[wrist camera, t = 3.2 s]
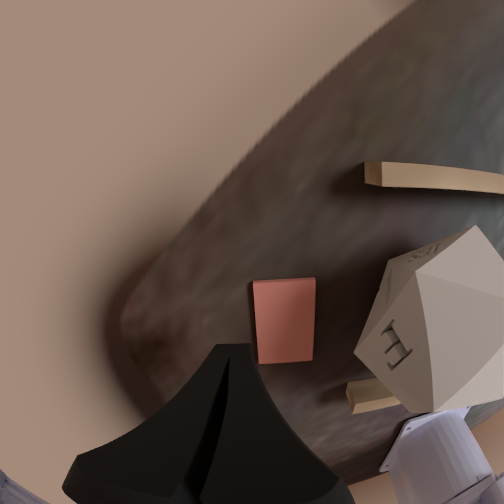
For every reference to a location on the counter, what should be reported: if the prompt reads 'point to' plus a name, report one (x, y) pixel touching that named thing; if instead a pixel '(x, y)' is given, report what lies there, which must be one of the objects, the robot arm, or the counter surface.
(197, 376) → the robot arm
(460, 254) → the die
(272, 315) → the mat
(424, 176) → the channel
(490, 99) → the counter surface
